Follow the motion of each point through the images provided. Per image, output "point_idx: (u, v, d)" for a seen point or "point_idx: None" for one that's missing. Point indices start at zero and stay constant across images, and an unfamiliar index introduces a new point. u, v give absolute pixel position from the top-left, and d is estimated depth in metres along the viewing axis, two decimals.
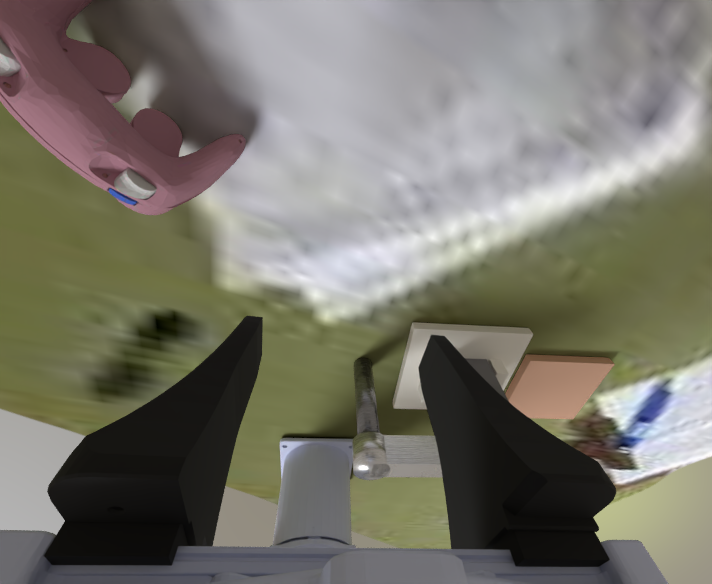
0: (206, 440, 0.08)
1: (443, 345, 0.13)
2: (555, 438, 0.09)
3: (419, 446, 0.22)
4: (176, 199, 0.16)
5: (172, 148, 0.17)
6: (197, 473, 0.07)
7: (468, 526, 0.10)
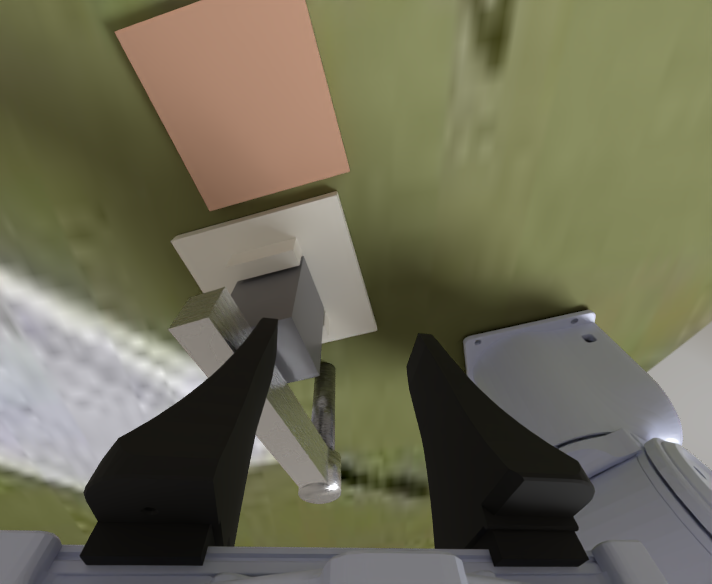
0: (233, 441, 0.08)
1: (429, 344, 0.13)
2: (536, 437, 0.09)
3: None
4: None
5: None
6: (226, 474, 0.07)
7: (450, 526, 0.10)
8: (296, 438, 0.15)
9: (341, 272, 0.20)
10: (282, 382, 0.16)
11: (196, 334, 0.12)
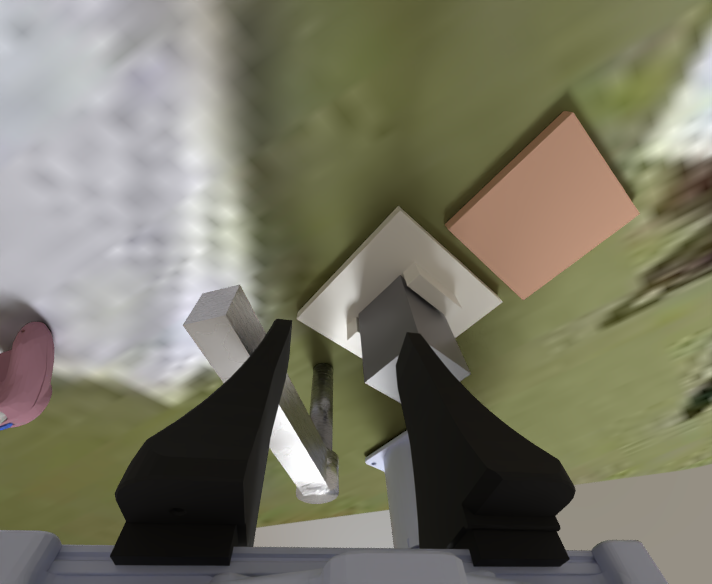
0: (257, 443, 0.08)
1: (417, 342, 0.13)
2: (519, 436, 0.09)
3: None
4: (23, 401, 0.21)
5: None
6: (251, 475, 0.07)
7: (433, 525, 0.10)
8: (299, 438, 0.16)
9: None
10: (288, 382, 0.16)
11: (211, 331, 0.12)
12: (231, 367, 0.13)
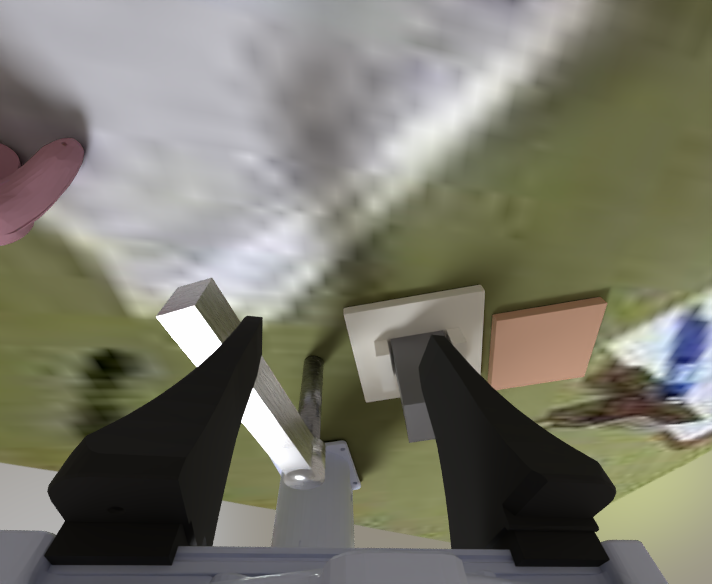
0: (206, 440, 0.08)
1: (443, 345, 0.13)
2: (555, 438, 0.09)
3: None
4: (7, 222, 0.15)
5: (6, 172, 0.16)
6: (197, 473, 0.07)
7: (468, 526, 0.10)
8: (280, 425, 0.16)
9: None
10: (267, 371, 0.16)
11: (183, 322, 0.12)
12: (206, 356, 0.13)
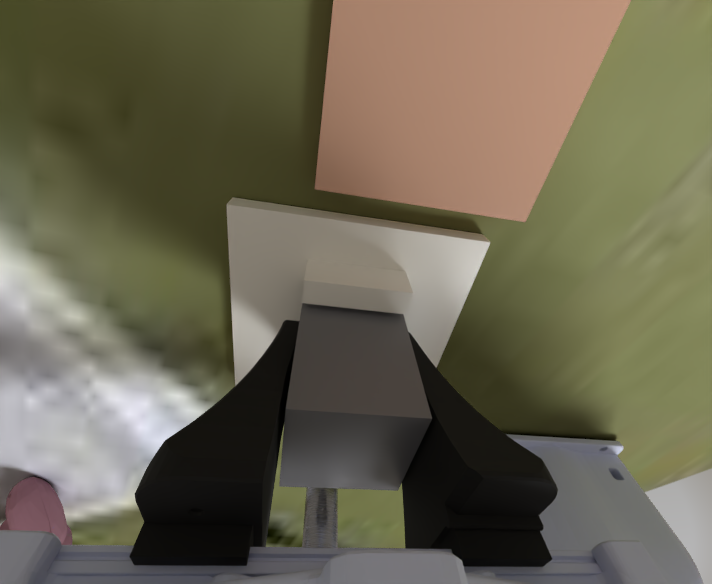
0: (272, 443, 0.08)
1: None
2: (503, 435, 0.09)
3: None
4: None
5: None
6: (268, 476, 0.07)
7: (418, 525, 0.09)
8: None
9: (428, 331, 0.15)
10: None
11: None
12: None
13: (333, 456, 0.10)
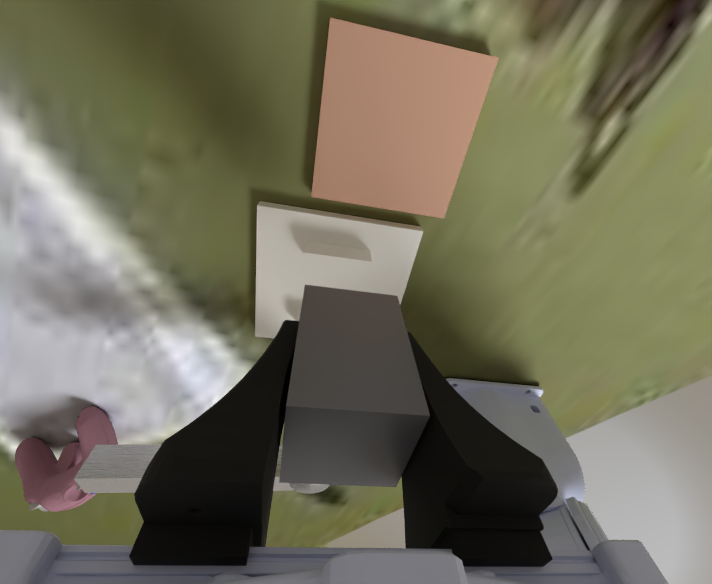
0: (272, 443, 0.08)
1: None
2: (504, 435, 0.09)
3: None
4: None
5: None
6: (267, 476, 0.07)
7: (419, 525, 0.09)
8: None
9: (388, 292, 0.22)
10: None
11: (89, 485, 0.18)
12: (124, 486, 0.19)
13: (333, 452, 0.10)
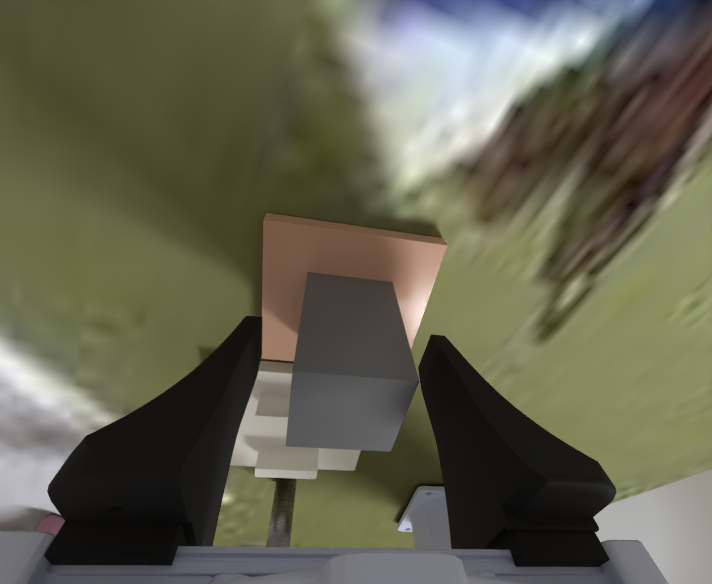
0: (206, 440, 0.08)
1: (443, 345, 0.13)
2: (555, 438, 0.09)
3: None
4: None
5: None
6: (197, 473, 0.07)
7: (468, 526, 0.10)
8: None
9: None
10: None
11: None
12: None
13: (333, 416, 0.11)
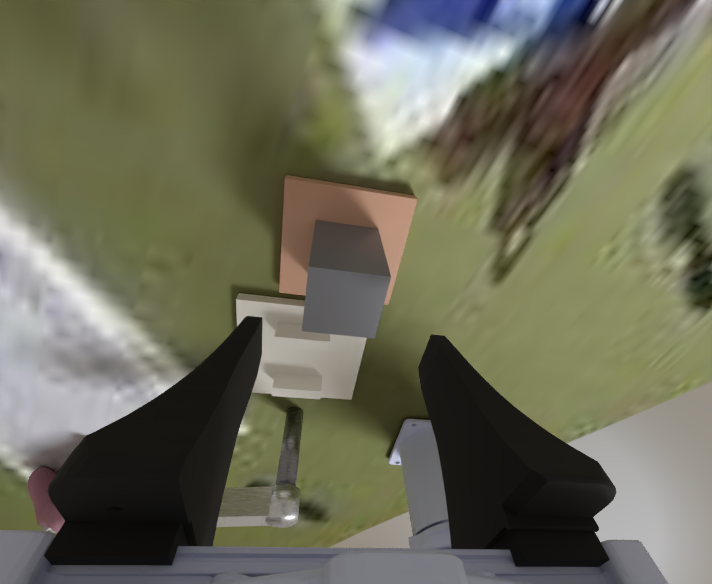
0: (206, 440, 0.08)
1: (443, 345, 0.13)
2: (555, 438, 0.09)
3: None
4: None
5: None
6: (197, 473, 0.07)
7: (468, 526, 0.10)
8: None
9: (348, 357, 0.27)
10: None
11: None
12: None
13: (335, 305, 0.17)
